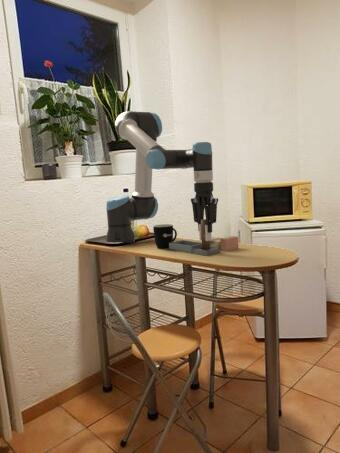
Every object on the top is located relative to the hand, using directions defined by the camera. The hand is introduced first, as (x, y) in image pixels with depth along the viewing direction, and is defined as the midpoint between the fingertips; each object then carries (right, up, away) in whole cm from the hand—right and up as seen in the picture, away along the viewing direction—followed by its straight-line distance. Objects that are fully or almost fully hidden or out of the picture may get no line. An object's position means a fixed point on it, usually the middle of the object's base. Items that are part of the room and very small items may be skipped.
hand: (205, 239), depth 146 cm
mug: (-16, -4, +19) cm, 25 cm away
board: (+6, -4, +11) cm, 13 cm away
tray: (-7, -5, +9) cm, 12 cm away
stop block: (+11, -4, +5) cm, 13 cm away
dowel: (0, -4, 0) cm, 4 cm away
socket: (0, -5, 0) cm, 5 cm away
